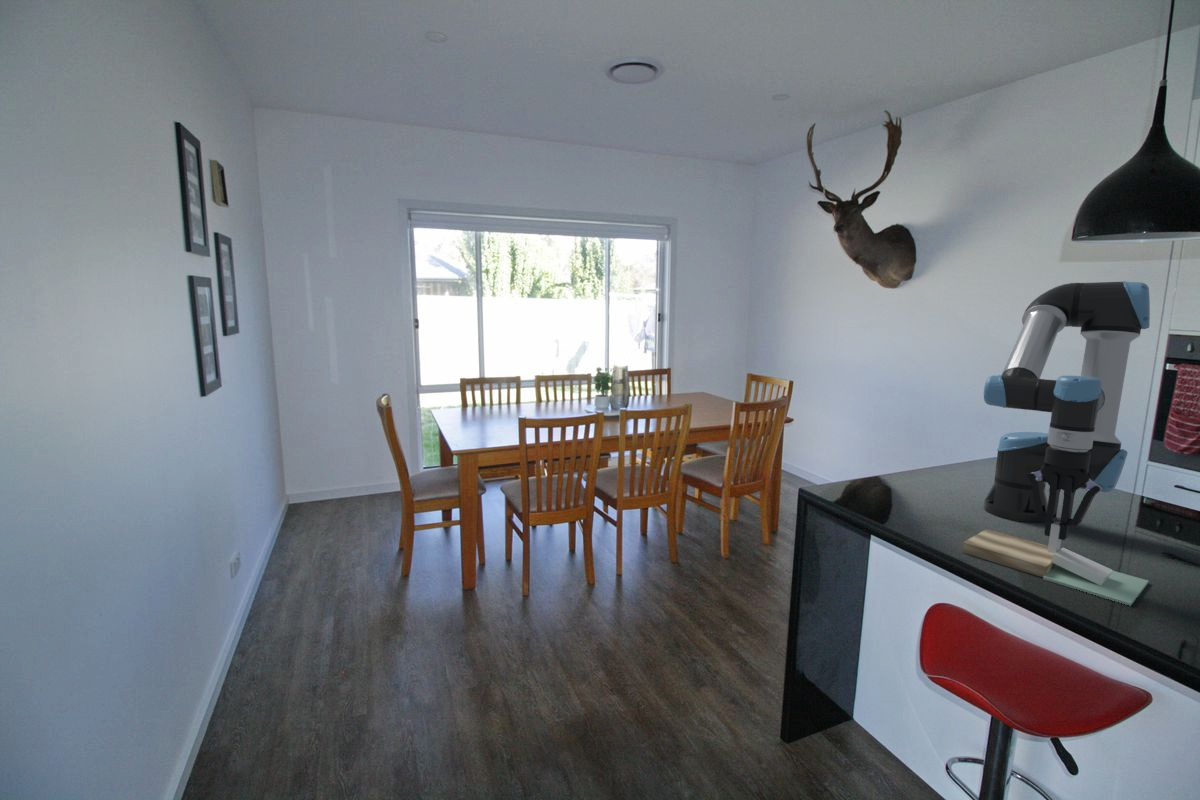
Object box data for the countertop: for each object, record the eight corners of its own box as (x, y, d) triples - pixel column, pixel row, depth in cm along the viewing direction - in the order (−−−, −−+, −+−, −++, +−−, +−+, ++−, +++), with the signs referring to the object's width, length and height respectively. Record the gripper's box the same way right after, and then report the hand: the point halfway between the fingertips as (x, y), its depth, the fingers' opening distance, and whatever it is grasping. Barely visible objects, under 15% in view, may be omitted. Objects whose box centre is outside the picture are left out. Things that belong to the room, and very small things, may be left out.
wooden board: (985, 538, 143) (986, 529, 143) (1064, 561, 131) (1065, 550, 130) (962, 552, 135) (963, 542, 134) (1044, 577, 122) (1045, 566, 122)
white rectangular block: (1050, 561, 124) (1054, 554, 124) (1059, 554, 128) (1062, 547, 127) (1101, 585, 118) (1105, 577, 117) (1108, 578, 121) (1113, 570, 121)
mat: (1065, 559, 131) (1065, 557, 131) (1148, 583, 120) (1148, 580, 120) (1042, 579, 122) (1043, 576, 122) (1130, 606, 111) (1130, 603, 111)
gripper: (1026, 444, 125) (1012, 545, 129) (1103, 456, 115) (1085, 566, 119) (1038, 440, 130) (1024, 538, 134) (1113, 451, 120) (1096, 557, 123)
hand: (1053, 551), depth 126 cm, fingers closed
